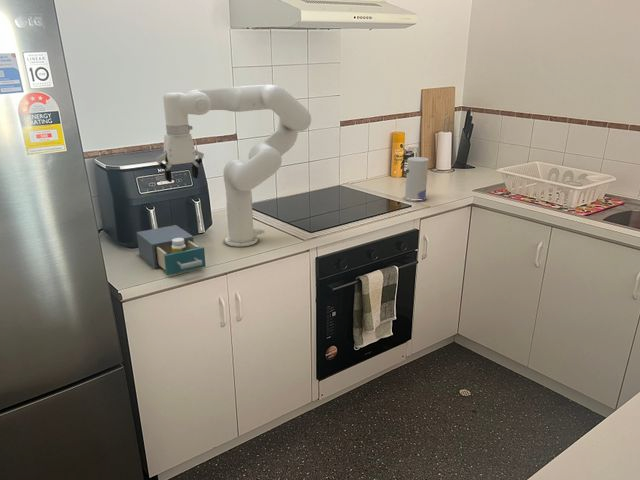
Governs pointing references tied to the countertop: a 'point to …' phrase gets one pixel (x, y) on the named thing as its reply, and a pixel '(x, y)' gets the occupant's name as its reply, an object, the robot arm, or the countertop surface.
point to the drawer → (180, 258)
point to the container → (416, 178)
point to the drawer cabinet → (158, 241)
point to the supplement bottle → (178, 245)
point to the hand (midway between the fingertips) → (182, 179)
